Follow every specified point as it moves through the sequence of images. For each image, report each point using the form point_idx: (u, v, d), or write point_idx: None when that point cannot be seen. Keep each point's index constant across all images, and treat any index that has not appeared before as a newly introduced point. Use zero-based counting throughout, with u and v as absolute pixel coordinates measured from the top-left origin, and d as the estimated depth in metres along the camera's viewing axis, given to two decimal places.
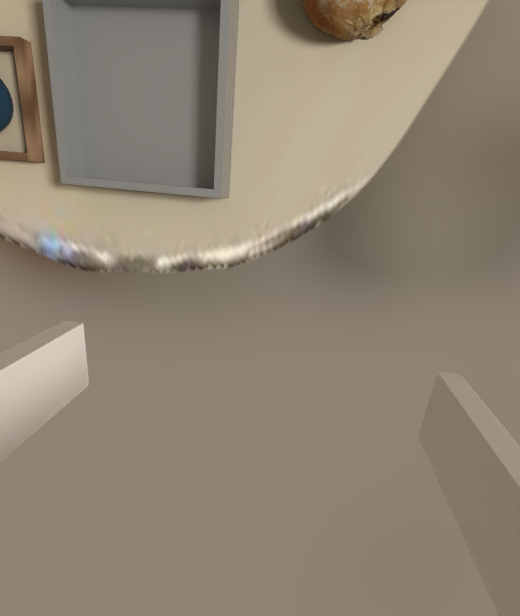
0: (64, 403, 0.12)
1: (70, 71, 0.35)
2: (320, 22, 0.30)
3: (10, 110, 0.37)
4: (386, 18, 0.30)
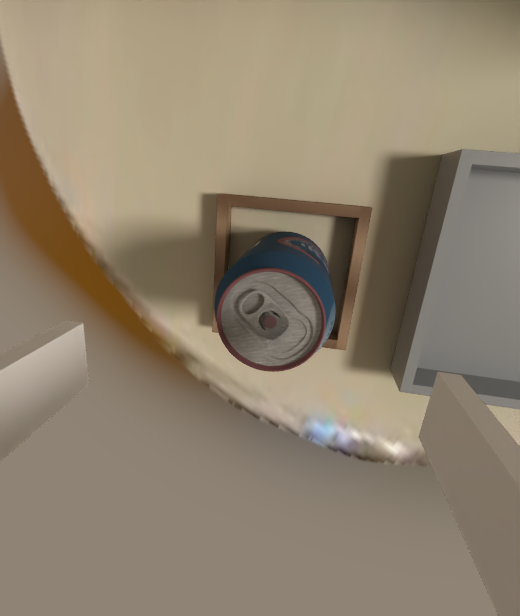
0: (64, 403, 0.12)
1: None
2: None
3: None
4: None
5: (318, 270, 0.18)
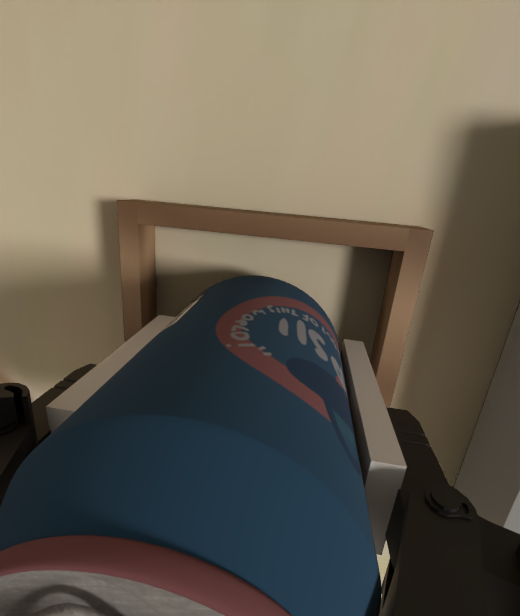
0: None
1: None
2: None
3: None
4: None
5: (324, 485, 0.05)
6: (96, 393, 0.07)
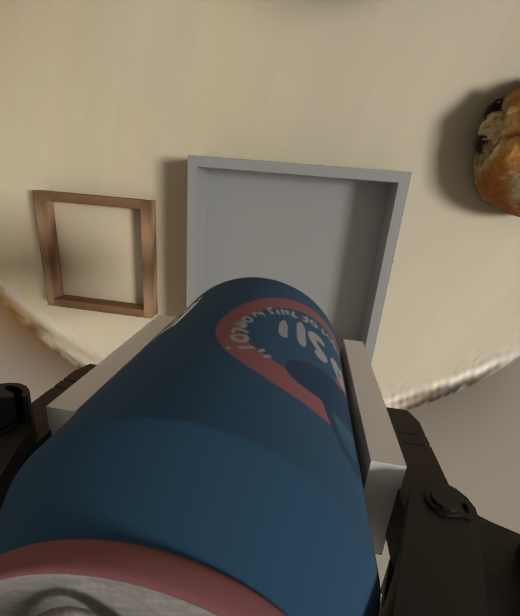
0: None
1: (202, 236, 0.32)
2: (498, 204, 0.27)
3: None
4: None
5: (323, 487, 0.05)
6: (96, 395, 0.07)
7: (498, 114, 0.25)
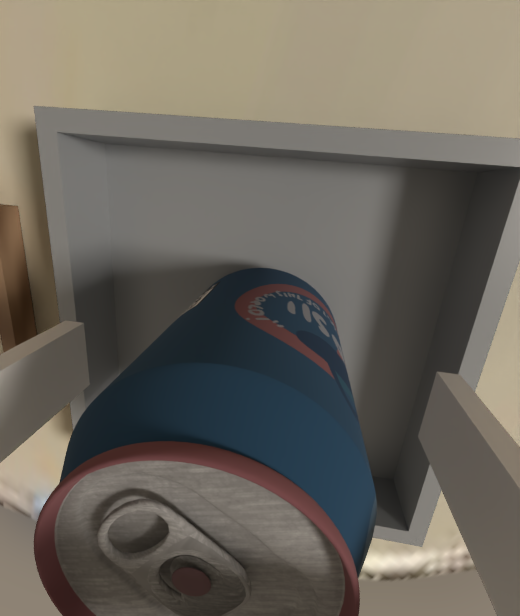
0: (65, 403, 0.13)
1: (101, 276, 0.16)
2: None
3: None
4: None
5: (331, 416, 0.06)
6: (140, 357, 0.08)
7: None
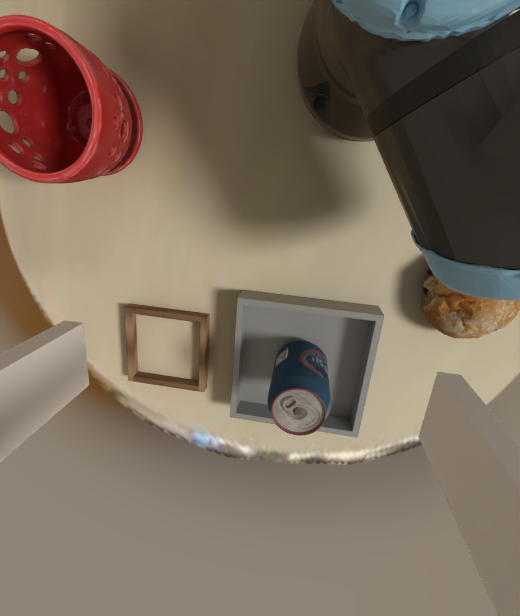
0: (64, 403, 0.12)
1: (243, 341, 0.46)
2: (438, 328, 0.41)
3: None
4: None
5: (322, 384, 0.36)
6: (281, 373, 0.38)
7: (434, 279, 0.39)
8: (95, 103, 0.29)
